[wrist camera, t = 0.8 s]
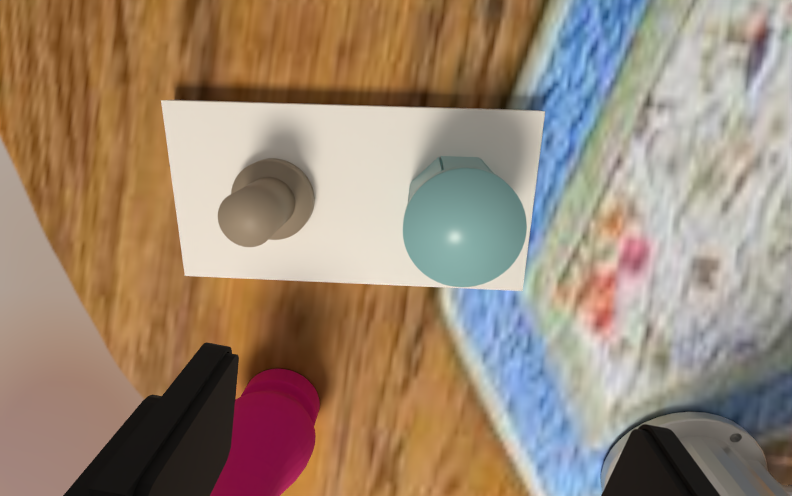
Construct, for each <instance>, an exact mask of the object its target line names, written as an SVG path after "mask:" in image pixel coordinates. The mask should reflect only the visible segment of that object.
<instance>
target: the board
mask: <svg viewBox="0 0 792 496" xmlns="http://www.w3.org/2000/svg"><path fill="white" fill-rule="evenodd" d="M161 102H162V110H163V117H164V124H165V132H166V139H167V147H168V154H169V161H170V169H171V176H172V184H173V191H174V199H175V206H176V213H177V221H178V228H179V236H180V243H181V250H182V258H183V265H184V273H185V276H201V277H223V278H246V279H268V280H290V281H313V282H335V283H358V284H380V285H402V286H425V287H447V288H469V289H492V290H514V291H522V290H523V282H524V274H525V266H526V259H527V251H528V243H529V235H530V227H531V219H532V211H533V203H534V195H535V187H536V179H537V172H538V164H539V156H540V148H541V140H542V132H543V124H544V116H545V111H540V110H512V109H477V108H442V107H407V106H372V105H337V104H303V103H268V102H233V101H198V100H161ZM441 156H455V157H479V158H480V159H482V160H483V161H484V163H485V164H486V165H487V166H488V167H489V168H490V169H491V170H492V172H493V173H494V174H496V175H498V176H499V177H500V178H502V179H503V180H504V181H505V182H506V183H507V184H508V185H509V186H510V187H511V188H512V189H513V190H514V192H515V193H516V194H517V195H518V197H519V199H520V201H521V203H522V205H523V208H524V210H525V215H526V222H527V231H526V238H525V242H524V245H523V248H522V250H521V252H520V254H519V256H518V257H517V259H516V260H515V262H514V263H513V264H512V265H511V267H510V268H509V269H508V270H506V271H505V272H504V273H503V274H502V275H500V276H499V277H497V278H495V279H494V280H492V281H490V282H487V283H484V284H481V285H477V286H472V287H453V286H448V285H444V284H441V283H439V282H436V281H434V280H432V279H430V278H429V277H428V276H426V275H425V274H423V273H422V272H421V271H420V270H419V269H418V268H417V267H416V266H415V264H414V263H413V262H412V260H411V259H410V257H409V255H408V253H407V251H406V248H405V244H404V239H403V220H404V214H405V210H406V207H407V204H408V195H409V187H410V184H411V182H412V181H413V180H414V179H415V178H416V177H417V176H418V175H419V174H420V173H421V172H423V171H424V170H425V169H426V168H427V167H428V166H429V165H430V164H431V163H432V162H433V161H434V160H436V159H437V158H438V157H439V158H440V159H441Z"/></svg>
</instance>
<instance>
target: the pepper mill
mask: <svg viewBox="0 0 792 496" xmlns="http://www.w3.org/2000/svg"><path fill="white" fill-rule="evenodd" d="M319 407H320V402H319V397H318V394H317V391H316V389H315V388H314V386H313V385H312V384H311V383H310V382H309V380H307V379H306V378H305V377H303V376H302V375H301V374H298V373H296V372H294V371H291V370H286V369H269V370H266V371H263V372H261V373H259V374H257V375H256V376H255V377H253V378H252V379H251V380H250V382H249V383H248V385H247V387H246V388H245V390H244V392H243V393H242V395H241V397H240V398H238V399H236V400H235V407H234V418H233V430H232V441H231V449H230V453H229V456H228V459H227V461H226V464H225V466H224V468H223V470H222V472H221V474H220V476H219V478H218V480H217V482H216V484H215V486H214V488H213V490H212V492H211V494H210V496H280V495H281V494H282V493H283V492H284V491H285V490H286V489H287V488H288V487H289V486H290V485H292V484H293V483H294V482H295V481H296V479H297V478H298V477H299V475H300V474H301V473H302V471H303V470H304V469H305V467H306V465H307V463H308V461H309V459H310V457H311V454H312V452H313V449H314V445H315V429H314V425H315V422H316V418H317V415H318V412H319Z"/></svg>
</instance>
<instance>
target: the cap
mask: <svg viewBox="0 0 792 496" xmlns="http://www.w3.org/2000/svg"><path fill="white" fill-rule="evenodd" d="M526 231H527V222H526V215H525V210H524V208H523V205H522V203H521V201H520V199H519V197H518V195H517V194H516V193H515V192H514V190H513V189H512V188H511V187H510V186H509V185H508V184H507V183H506V182H505V181H504V180H503V179H502V178H500V177H499V176H498V175H496V174H494V173H493V172H492V170H491V169H490V168H489V167H488V166H487V165H486V164H485V163H484V161H483V160H482V159H480V158H479V157H455V156H441V159H440V158H439V157H438V158H437V159H436V160H434V161H433V162H432V163H431V164H430V165H429V166H428V167H427V168H426V169H425V170H424V171H423V172H421V173H420V174H419V175H418V176H417V177H416V178H415V179H414V180H413V181H412V182H411V184H410V187H409V195H408V204H407V207H406V210H405V214H404V220H403V239H404V244H405V248H406V251H407V253H408V255H409V257H410V259H411V260H412V262H413V263H414V264H415V266H416V267H417V268H418V269H419V270H420V271H421V272H422V273H423V274H425V275H426V276H428V277H429V278H430V279H432V280H434V281H436V282H439V283H441V284H444V285H448V286H453V287H472V286H477V285H481V284H484V283H487V282H490V281H492V280H494V279H495V278H497V277H499V276H500V275H502V274H503V273H504V272H505V271H506V270H508V269H509V268H510V267H511V265H512V264H513V263H514V262H515V260H516V259H517V257H518V256H519V254H520V252H521V250H522V248H523V245H524V242H525V238H526Z"/></svg>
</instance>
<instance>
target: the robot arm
mask: <svg viewBox="0 0 792 496" xmlns="http://www.w3.org/2000/svg"><path fill="white" fill-rule="evenodd" d="M238 362H239V357H238V355H235V354H232V350H231V347H228V346H223V345H217V344H212V343H204V344H203V345H202V346H201V348H200V349H199V350H198V351H197V353H196V354H195V355H194V356H193V358H192V359H191V360H190V362H189V363H188V364H187V365H186V367H185V368H184V369H183V370H182V372H181V373H180V374H179V375H178V377H177V378H176V379H175V380H174V382H173V383H172V384H171V385H170V387H169V388H168V389H167V391H166V392H165V393H164V394H163V396H157V395H150V396H148V397H147V398H146V399H145V400H143V401H142V403H141V404H140V405H139V406H138V408H137V409H136V410H135V411H134V412H133V413H132V415H131V416H130V417H129V418H128V419H127V420H126V422H125V423H124V424H123V425H122V426H121V428H120V429H119V430H118V431H117V432H116V434H115V435H114V436H113V437H112V438H111V440H110V441H109V442H108V443H107V444H106V445H105V447H104V448H103V449H102V450H101V451H100V453H99V454H98V455H97V456H96V457H95V459H94V460H93V461H92V462H91V463H90V464H89V466H88V467H87V468H86V469H85V470H84V472H83V473H82V474H81V475H80V476H79V478H78V479H77V480H76V481H75V482H74V484H73V485H72V486H71V487H70V488H69V490H68V491H67V492H66V493H65V494H64V495H63V496H210V494H211V492H212V490H213V488H214V486H215V484H216V482H217V480H218V478H219V476H220V474H221V472H222V470H223V468H224V466H225V464H226V461H227V459H228V456H229V453H230V449H231V441H232V430H233V418H234V407H235V396H236V384H237V373H238ZM601 487H602V491H603V493H602V495H601V496H792V485H781V484H780V483H779V482H777V481H776V480H775V479H774V478H773V477H772V476H771V474H770V473H769V472H768V471H767V461H766V458H765V455H764V453H763V450H762V449H761V447H760V446H759V445H758V443H757V442H756V440H755V439H754V438H753V437H752V436H751V435H750V434H749V433H748V432H747V431H746V430H745V429H744V428H742V427H741V426H739V425H738V424H736V423H735V422H734V421H731V420H729V419H727V418H724V417H722V416H719V415H714V414H710V413H705V412H681V413H672V414H668V415H664V416H660V417H657V418H654V419H652V420H649V421H647V422H645V423H642V424H641V425H639V426H637V427H636V428H634V429H632V430H631V431H629V432H628V433H627V434H626V435H625V436H623V437H622V438H621V439H620V440H619V441H618V442H617V443H616V444H615V446H614V447H613V448H612V449H611V450H610V452H609V454H608V456H607V458H606V460H605V462H604V465H603V469H602V472H601Z"/></svg>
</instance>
